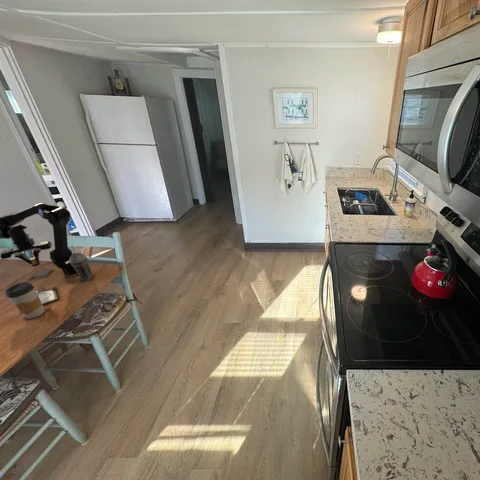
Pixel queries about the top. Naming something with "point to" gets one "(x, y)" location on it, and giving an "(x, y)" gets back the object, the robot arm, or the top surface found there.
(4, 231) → the robot arm
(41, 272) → the ink pad
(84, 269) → the beverage cup
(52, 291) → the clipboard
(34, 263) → the stamp
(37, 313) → the coffee cup
